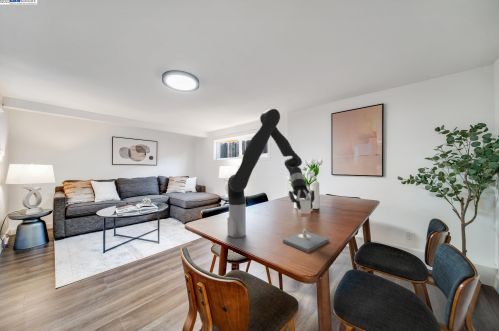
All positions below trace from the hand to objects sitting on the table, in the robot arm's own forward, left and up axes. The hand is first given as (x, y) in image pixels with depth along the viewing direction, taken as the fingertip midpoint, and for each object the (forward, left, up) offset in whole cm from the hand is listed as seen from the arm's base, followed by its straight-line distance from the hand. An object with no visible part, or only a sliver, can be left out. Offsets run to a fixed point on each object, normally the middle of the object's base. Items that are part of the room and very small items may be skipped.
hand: (305, 208), depth 90 cm
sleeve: (+1, +1, -4) cm, 5 cm away
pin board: (-1, -1, -16) cm, 16 cm away
